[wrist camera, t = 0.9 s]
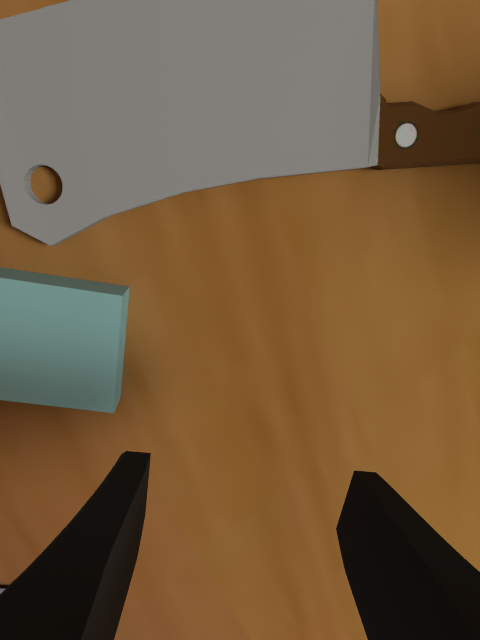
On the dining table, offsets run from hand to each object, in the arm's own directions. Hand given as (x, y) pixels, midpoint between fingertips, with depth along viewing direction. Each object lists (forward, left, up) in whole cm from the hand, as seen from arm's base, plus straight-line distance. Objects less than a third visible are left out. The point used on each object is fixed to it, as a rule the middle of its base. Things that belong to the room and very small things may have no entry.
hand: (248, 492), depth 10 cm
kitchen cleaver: (+11, -1, -9) cm, 14 cm away
